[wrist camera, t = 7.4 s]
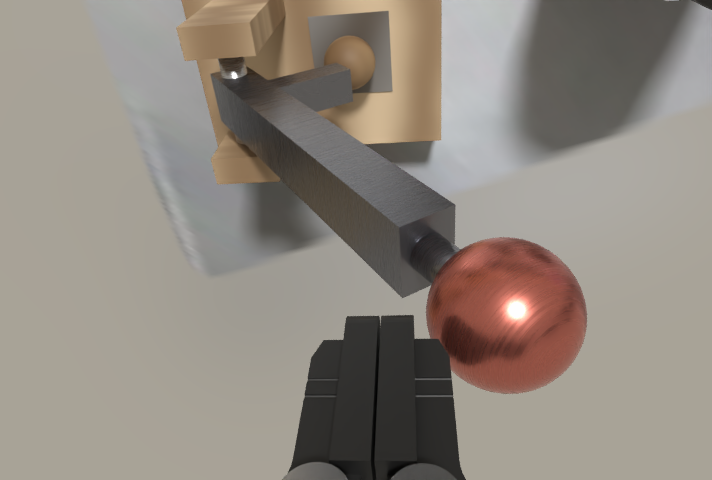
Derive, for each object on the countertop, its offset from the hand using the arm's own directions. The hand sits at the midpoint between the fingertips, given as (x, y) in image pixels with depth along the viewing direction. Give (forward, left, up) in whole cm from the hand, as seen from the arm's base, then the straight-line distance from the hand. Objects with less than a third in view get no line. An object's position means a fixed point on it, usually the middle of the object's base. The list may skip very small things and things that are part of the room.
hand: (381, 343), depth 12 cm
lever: (+7, 0, -18) cm, 19 cm away
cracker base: (+4, 0, -25) cm, 26 cm away
